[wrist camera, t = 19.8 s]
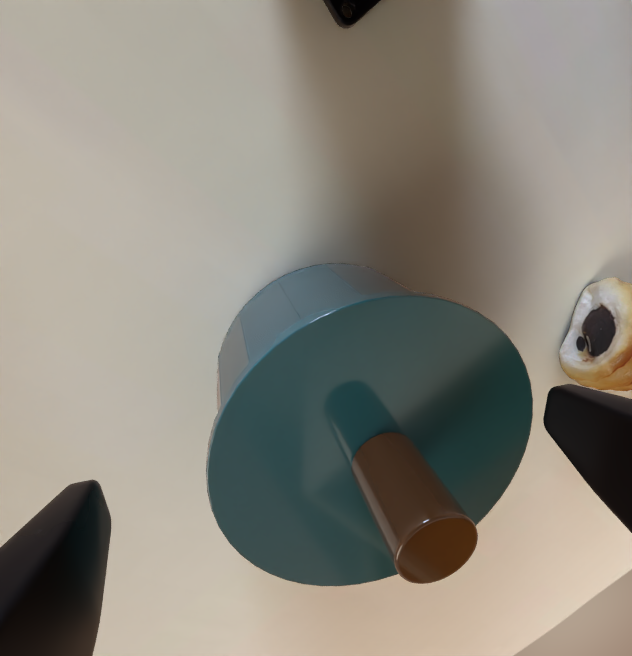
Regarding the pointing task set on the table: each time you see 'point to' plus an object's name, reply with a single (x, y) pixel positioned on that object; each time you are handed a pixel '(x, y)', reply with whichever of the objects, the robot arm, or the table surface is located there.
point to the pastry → (601, 337)
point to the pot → (291, 310)
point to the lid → (370, 441)
